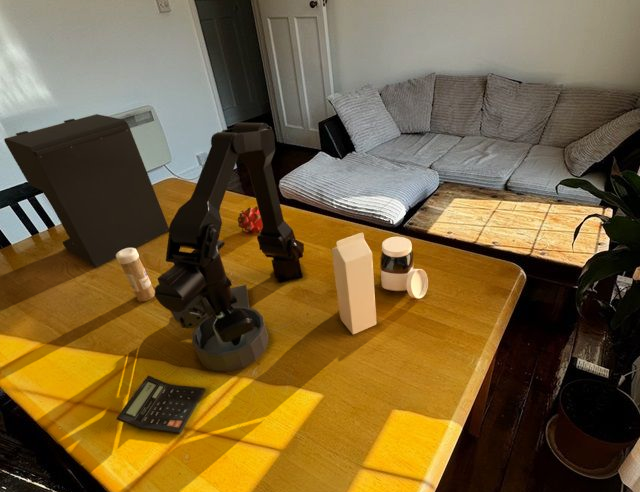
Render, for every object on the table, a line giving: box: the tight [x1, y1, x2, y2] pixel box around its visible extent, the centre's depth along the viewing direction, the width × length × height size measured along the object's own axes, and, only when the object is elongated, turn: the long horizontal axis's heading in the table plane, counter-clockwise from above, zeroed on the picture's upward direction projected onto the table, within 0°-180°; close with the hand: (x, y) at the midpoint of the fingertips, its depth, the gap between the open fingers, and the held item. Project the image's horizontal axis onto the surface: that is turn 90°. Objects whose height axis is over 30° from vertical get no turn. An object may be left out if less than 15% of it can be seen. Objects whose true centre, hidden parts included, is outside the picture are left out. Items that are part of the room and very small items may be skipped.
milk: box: [331, 232, 377, 336], centre depth 85 cm, size 6×6×22 cm
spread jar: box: [379, 236, 429, 299], centre depth 97 cm, size 12×11×12 cm
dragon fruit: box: [237, 205, 263, 234], centre depth 127 cm, size 8×8×12 cm
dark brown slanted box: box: [3, 113, 170, 269], centre depth 121 cm, size 28×20×35 cm
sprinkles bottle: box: [115, 248, 155, 302], centre depth 101 cm, size 5×5×14 cm
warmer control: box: [196, 284, 251, 326], centre depth 97 cm, size 12×9×4 cm
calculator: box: [115, 374, 206, 435], centre depth 75 cm, size 9×12×3 cm
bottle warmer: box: [191, 306, 269, 373], centre depth 86 cm, size 14×14×5 cm
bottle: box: [213, 310, 246, 352], centre depth 85 cm, size 5×5×9 cm
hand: (231, 336), depth 86 cm, fingers closed on bottle, 5 cm apart
